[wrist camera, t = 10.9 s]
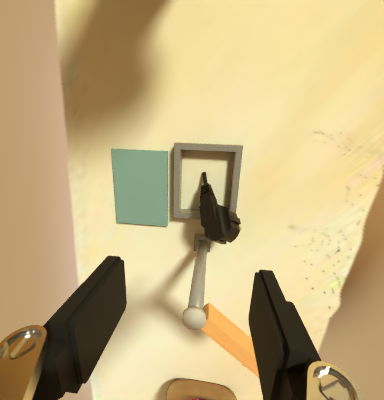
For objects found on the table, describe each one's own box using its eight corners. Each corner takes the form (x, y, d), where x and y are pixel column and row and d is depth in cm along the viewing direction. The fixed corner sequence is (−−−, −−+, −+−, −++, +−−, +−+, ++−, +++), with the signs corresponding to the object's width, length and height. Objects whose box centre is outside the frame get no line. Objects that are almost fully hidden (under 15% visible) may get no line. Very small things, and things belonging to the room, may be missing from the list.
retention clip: (272, 342, 29) (284, 383, 24) (258, 350, 29) (267, 392, 24) (197, 276, 27) (193, 306, 22) (184, 287, 28) (177, 319, 23)
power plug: (214, 163, 34) (226, 230, 28) (237, 181, 39) (252, 241, 33) (189, 178, 37) (195, 242, 31) (213, 193, 42) (223, 251, 36)
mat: (113, 148, 37) (111, 149, 36) (167, 151, 36) (167, 151, 35) (118, 221, 41) (116, 222, 40) (167, 225, 40) (166, 226, 39)
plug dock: (176, 142, 35) (142, 145, 18) (241, 145, 34) (267, 150, 17) (174, 246, 41) (147, 319, 24) (230, 251, 40) (242, 331, 23)
